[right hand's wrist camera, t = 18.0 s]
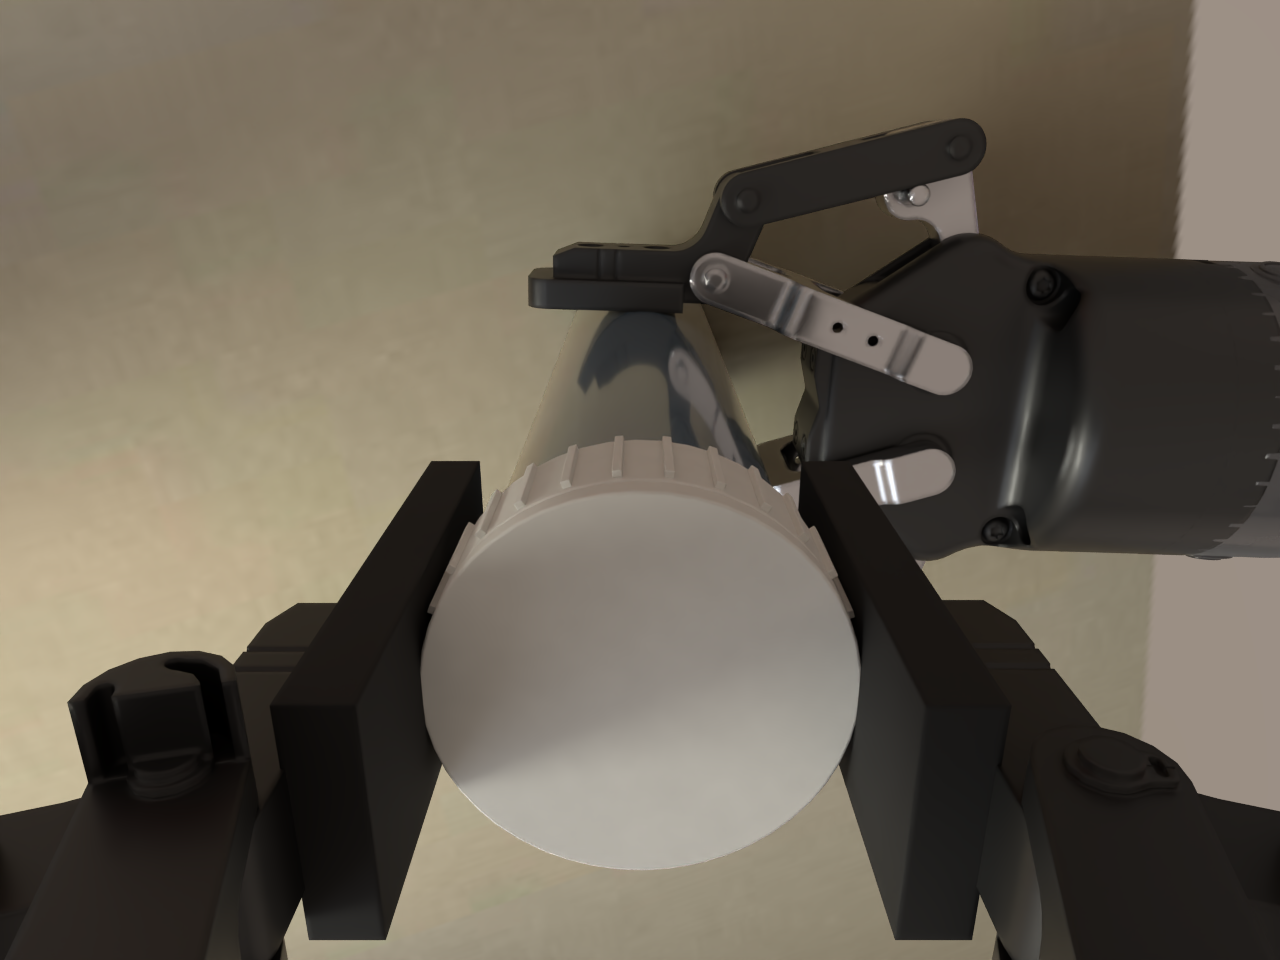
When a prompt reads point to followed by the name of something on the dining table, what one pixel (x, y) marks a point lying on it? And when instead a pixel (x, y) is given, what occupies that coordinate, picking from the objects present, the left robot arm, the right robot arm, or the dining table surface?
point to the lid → (640, 657)
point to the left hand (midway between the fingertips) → (536, 388)
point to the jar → (640, 388)
